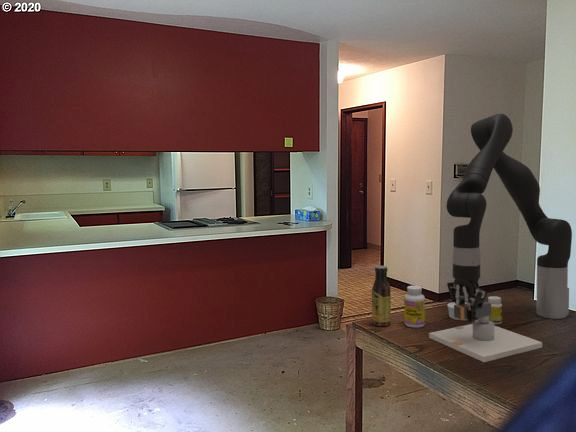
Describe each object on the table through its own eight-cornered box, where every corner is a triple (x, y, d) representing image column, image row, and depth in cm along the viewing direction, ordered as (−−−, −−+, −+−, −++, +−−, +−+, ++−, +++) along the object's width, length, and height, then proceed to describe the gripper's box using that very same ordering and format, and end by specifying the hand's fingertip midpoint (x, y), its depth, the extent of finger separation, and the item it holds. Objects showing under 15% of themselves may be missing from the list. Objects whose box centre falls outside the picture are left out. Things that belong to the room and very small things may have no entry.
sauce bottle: (370, 322, 169) (368, 265, 167) (388, 320, 170) (386, 264, 168) (375, 328, 163) (373, 268, 161) (393, 326, 163) (392, 267, 161)
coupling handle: (484, 319, 147) (484, 300, 147) (491, 322, 144) (491, 303, 144) (454, 324, 144) (454, 304, 144) (460, 327, 141) (460, 307, 141)
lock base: (483, 326, 160) (483, 308, 160) (542, 347, 140) (542, 327, 140) (429, 337, 152) (428, 318, 151) (483, 362, 132) (483, 340, 131)
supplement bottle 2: (503, 324, 161) (503, 299, 160) (488, 324, 162) (488, 299, 161) (500, 320, 166) (500, 295, 165) (485, 320, 166) (485, 295, 166)
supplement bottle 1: (402, 327, 162) (402, 289, 161) (406, 321, 168) (405, 284, 167) (423, 329, 160) (423, 290, 159) (426, 322, 166) (425, 285, 165)
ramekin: (456, 322, 166) (456, 309, 165) (442, 315, 174) (442, 303, 174) (480, 319, 168) (480, 307, 167) (464, 312, 176) (464, 300, 176)
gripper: (439, 259, 147) (439, 315, 148) (474, 268, 134) (474, 329, 136) (458, 256, 150) (459, 312, 151) (495, 264, 137) (494, 325, 138)
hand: (466, 320), depth 143 cm, fingers closed on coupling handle, 3 cm apart
